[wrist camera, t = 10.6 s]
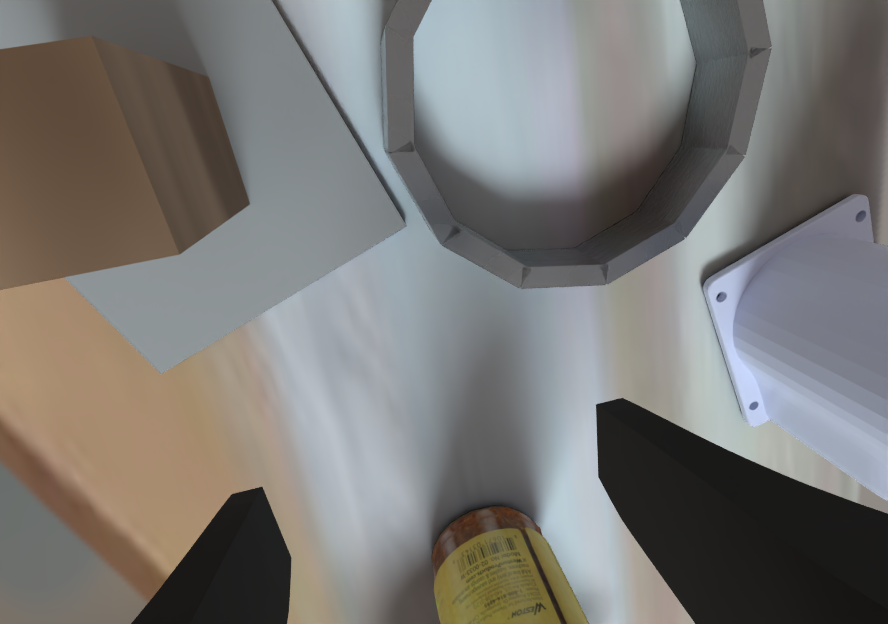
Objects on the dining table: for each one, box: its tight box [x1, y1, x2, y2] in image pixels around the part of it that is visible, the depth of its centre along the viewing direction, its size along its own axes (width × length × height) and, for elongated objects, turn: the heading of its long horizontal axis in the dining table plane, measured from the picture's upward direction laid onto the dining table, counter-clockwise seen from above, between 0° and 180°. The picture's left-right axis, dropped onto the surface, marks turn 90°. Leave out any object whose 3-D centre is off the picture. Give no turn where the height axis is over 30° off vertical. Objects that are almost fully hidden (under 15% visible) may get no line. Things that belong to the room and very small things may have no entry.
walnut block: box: [0, 36, 250, 290], centre depth 12 cm, size 4×4×7 cm
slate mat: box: [0, 0, 406, 374], centre depth 15 cm, size 12×11×1 cm
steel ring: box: [381, 0, 771, 289], centre depth 16 cm, size 13×13×2 cm
